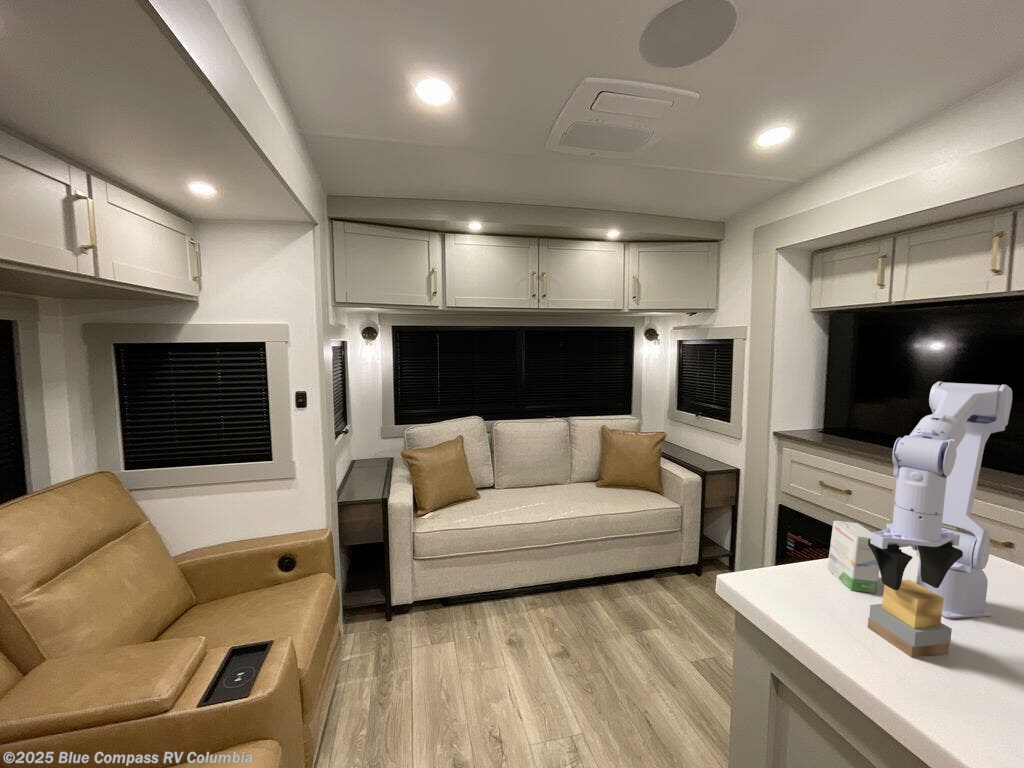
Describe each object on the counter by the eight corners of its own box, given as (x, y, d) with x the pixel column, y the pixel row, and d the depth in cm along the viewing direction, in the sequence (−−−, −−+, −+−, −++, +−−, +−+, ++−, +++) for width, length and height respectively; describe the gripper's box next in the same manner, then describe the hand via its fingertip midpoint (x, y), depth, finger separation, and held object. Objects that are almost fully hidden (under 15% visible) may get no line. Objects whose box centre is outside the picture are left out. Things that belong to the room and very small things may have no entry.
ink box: (826, 569, 90) (830, 519, 89) (852, 571, 89) (857, 521, 88) (850, 591, 82) (855, 536, 81) (879, 594, 81) (884, 539, 80)
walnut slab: (901, 627, 72) (902, 614, 71) (948, 657, 65) (949, 643, 64) (867, 630, 71) (868, 617, 71) (910, 660, 64) (912, 646, 64)
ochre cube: (906, 606, 70) (909, 579, 69) (940, 626, 65) (943, 597, 64) (881, 608, 69) (884, 581, 69) (914, 628, 64) (917, 599, 64)
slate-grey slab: (902, 614, 71) (903, 601, 71) (950, 643, 64) (951, 628, 64) (869, 618, 70) (870, 604, 70) (914, 647, 64) (915, 632, 63)
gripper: (928, 498, 71) (921, 570, 72) (855, 500, 69) (849, 574, 70) (978, 514, 64) (969, 594, 65) (899, 517, 62) (891, 599, 63)
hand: (910, 585), depth 67 cm, fingers open, 7 cm apart
